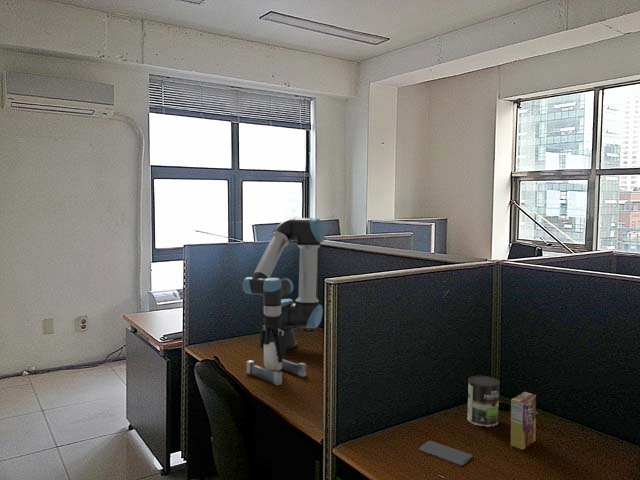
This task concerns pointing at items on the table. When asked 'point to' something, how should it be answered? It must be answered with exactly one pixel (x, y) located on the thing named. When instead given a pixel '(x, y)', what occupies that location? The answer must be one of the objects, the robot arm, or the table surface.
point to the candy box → (523, 420)
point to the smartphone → (446, 452)
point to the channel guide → (276, 375)
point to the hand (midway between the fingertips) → (272, 366)
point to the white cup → (270, 356)
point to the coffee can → (483, 400)
